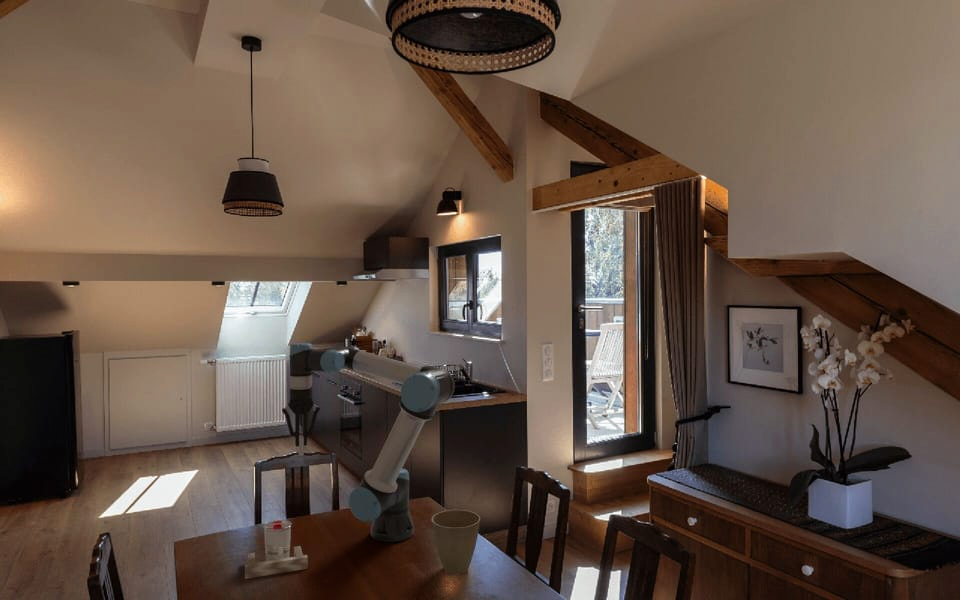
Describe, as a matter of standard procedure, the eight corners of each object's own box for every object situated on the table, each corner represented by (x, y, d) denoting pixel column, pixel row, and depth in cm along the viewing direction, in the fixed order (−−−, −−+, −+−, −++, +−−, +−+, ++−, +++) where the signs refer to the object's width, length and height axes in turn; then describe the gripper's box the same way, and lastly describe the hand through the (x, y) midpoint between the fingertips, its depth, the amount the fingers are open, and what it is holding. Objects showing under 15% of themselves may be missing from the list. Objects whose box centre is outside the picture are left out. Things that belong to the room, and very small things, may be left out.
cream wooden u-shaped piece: (303, 554, 200) (303, 543, 200) (307, 568, 190) (307, 557, 190) (244, 563, 193) (244, 552, 193) (245, 578, 183) (245, 567, 183)
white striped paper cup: (296, 556, 198) (296, 519, 198) (290, 568, 190) (290, 529, 190) (265, 557, 198) (265, 520, 198) (257, 569, 189) (257, 530, 189)
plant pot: (425, 564, 193) (425, 513, 193) (469, 556, 199) (469, 507, 199) (441, 584, 179) (441, 530, 179) (487, 575, 185) (487, 523, 185)
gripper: (318, 385, 221) (318, 450, 221) (280, 387, 216) (280, 454, 216) (321, 388, 214) (321, 455, 214) (282, 390, 209) (282, 459, 209)
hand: (301, 455), depth 215 cm, fingers closed
